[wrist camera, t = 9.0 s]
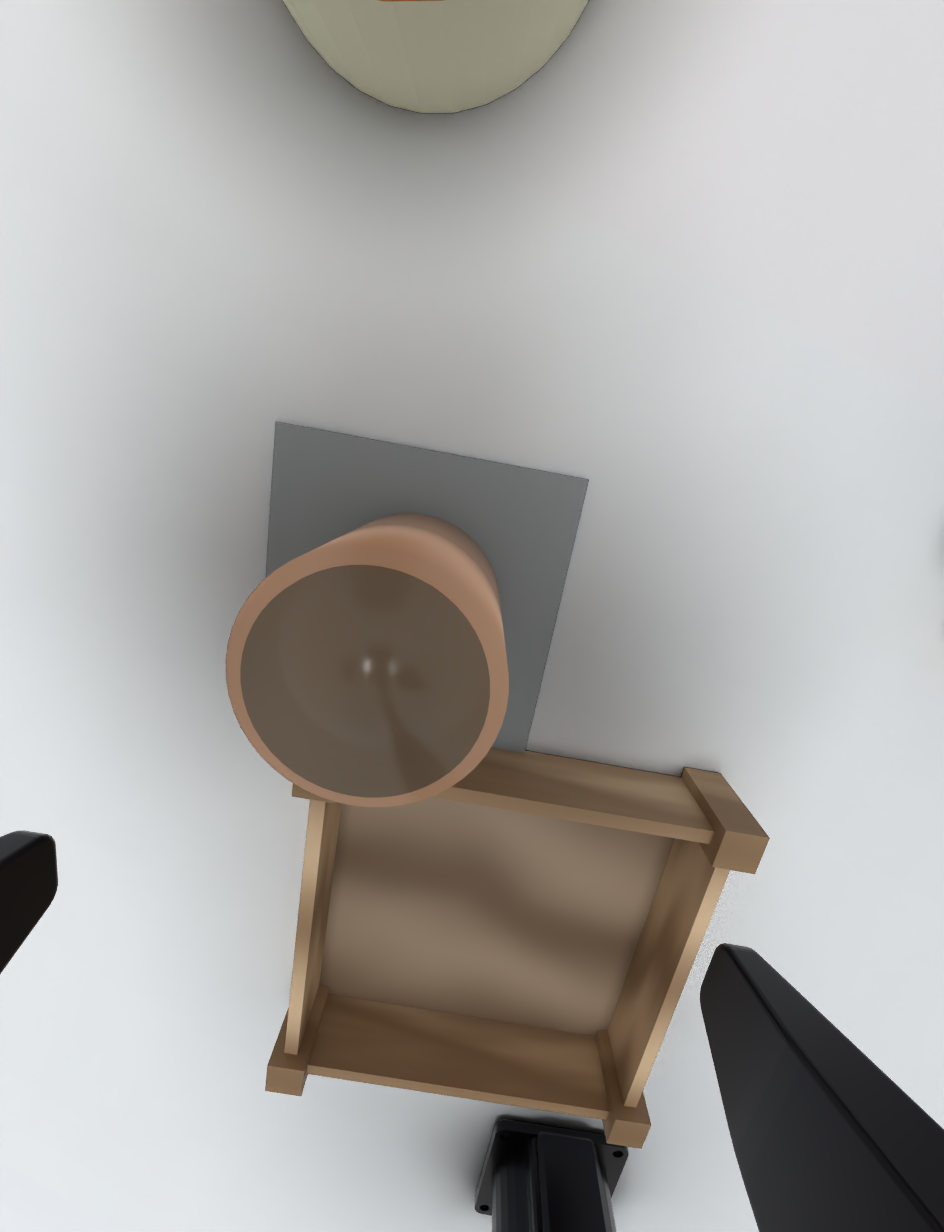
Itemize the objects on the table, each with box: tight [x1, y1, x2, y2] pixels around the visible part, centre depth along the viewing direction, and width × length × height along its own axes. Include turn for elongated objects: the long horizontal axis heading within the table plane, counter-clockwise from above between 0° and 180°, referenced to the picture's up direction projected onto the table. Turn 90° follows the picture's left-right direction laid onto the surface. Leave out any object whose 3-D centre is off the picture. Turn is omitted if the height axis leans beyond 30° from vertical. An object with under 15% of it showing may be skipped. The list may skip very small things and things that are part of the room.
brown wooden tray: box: [265, 748, 770, 1148], centre depth 20 cm, size 15×15×4 cm
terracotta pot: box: [226, 513, 509, 807], centre depth 14 cm, size 6×6×7 cm
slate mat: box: [266, 422, 589, 753], centre depth 18 cm, size 10×10×1 cm
